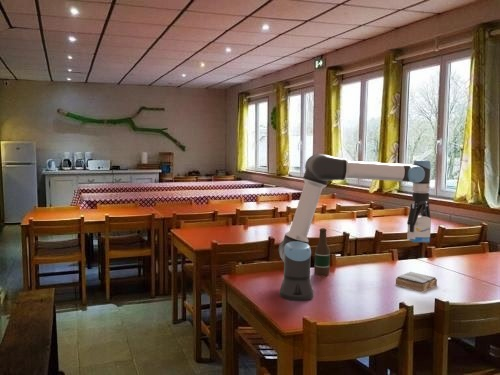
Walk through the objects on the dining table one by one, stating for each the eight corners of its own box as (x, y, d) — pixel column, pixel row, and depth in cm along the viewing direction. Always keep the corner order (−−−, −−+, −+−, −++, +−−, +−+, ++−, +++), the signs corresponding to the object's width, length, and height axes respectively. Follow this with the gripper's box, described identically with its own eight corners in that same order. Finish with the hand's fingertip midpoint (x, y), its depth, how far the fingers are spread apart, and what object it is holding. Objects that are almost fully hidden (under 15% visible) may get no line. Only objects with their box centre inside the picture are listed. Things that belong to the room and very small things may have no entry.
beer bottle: (328, 272, 247) (330, 227, 245) (329, 276, 240) (331, 230, 237) (313, 271, 248) (315, 227, 246) (314, 275, 240) (315, 229, 238)
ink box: (430, 242, 221) (431, 218, 219) (412, 242, 221) (413, 217, 220) (424, 238, 229) (425, 215, 228) (406, 238, 229) (407, 215, 228)
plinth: (422, 291, 217) (423, 283, 217) (395, 284, 227) (395, 276, 227) (436, 285, 227) (437, 277, 226) (409, 279, 237) (410, 271, 237)
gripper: (416, 194, 212) (413, 241, 214) (439, 191, 228) (437, 235, 230) (400, 193, 217) (398, 239, 219) (425, 189, 233) (422, 232, 236)
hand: (418, 237), depth 225 cm, fingers closed on ink box, 11 cm apart
